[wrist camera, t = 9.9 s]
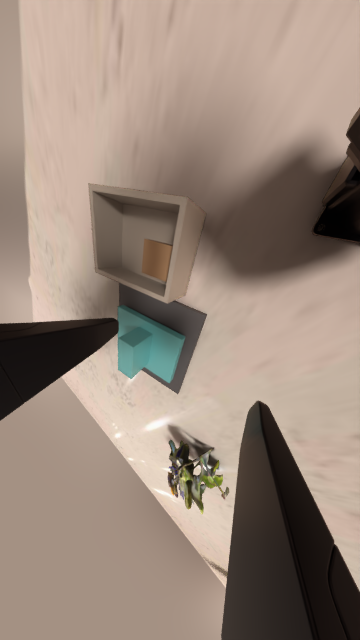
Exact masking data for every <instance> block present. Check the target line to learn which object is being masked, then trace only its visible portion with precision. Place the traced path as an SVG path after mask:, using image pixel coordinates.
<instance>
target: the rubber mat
mask: <svg viewBox="0 0 360 640" xmlns="http://www.w3.org/2000/svg"><path fill="white" fill-rule="evenodd" d="M121 305H124V306H126V307H128V308H130V309H132V310H134V311H136V312H138V313H140V314H142V315H144V316H146V317H148V318H150V319H152V320H154V321H156V322H158V323H160V324H162V325H164V326H166V327H168V328H170V329H172V330H174V331H176V332H178V333H179V334H181V335H183V336H185V340H184V343H183V347H182V350H181V353H180V356H179V360H178V363H177V366H176V370H175V373H174V376H173V379H172V381H171V382H170V383H168V382H166V381H165V380H163V379H162V378H160V377H159V376H157V375H156V374H154V373H153V372H151V371H150V370H148V369H147V368H145V367H144V368H143V369H141V370H143V371H144V372H146V373H147V374H149V375H150V376H152V377H153V378H154V379H156V380H157V381H159V382H160V383H162V384H163V385H165V386H166V387H168V388H169V389H171V390H172V391H174V392H175V393H177V394H178V393H179V391H180V388H181V385H182V383H183V380H184V377H185V374H186V372H187V369H188V366H189V363H190V360H191V358H192V355H193V352H194V349H195V347H196V344H197V341H198V338H199V335H200V333H201V330H202V327H203V324H204V321H205V319H206V316H207V314H205V313H203V312H200V311H198V310H196V309H193V308H191V307H189V306H186V305H184V304H181V303H179V302H177V301H172V302H170V303H168V304H167V303H165V302H162V301H160V300H158V299H156V298H153V297H151V296H149V295H147V294H144V293H142V292H140V291H138V290H135V289H133V288H131V287H128V286H126V285H124V284H122V283H119V306H121Z"/></svg>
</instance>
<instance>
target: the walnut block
mask: <svg viewBox="0 0 360 640" xmlns="http://www.w3.org/2000/svg"><path fill="white" fill-rule="evenodd" d="M172 249H173V245H170V244H167V243H163V242H160V241H154V240H149V239H144V248H143V260H142V273H144V274H147V275H149V276H152V277H155V278H157V279H160V280H163V281H165V282H167V278H168V272H169V266H170V260H171V255H172Z"/></svg>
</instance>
